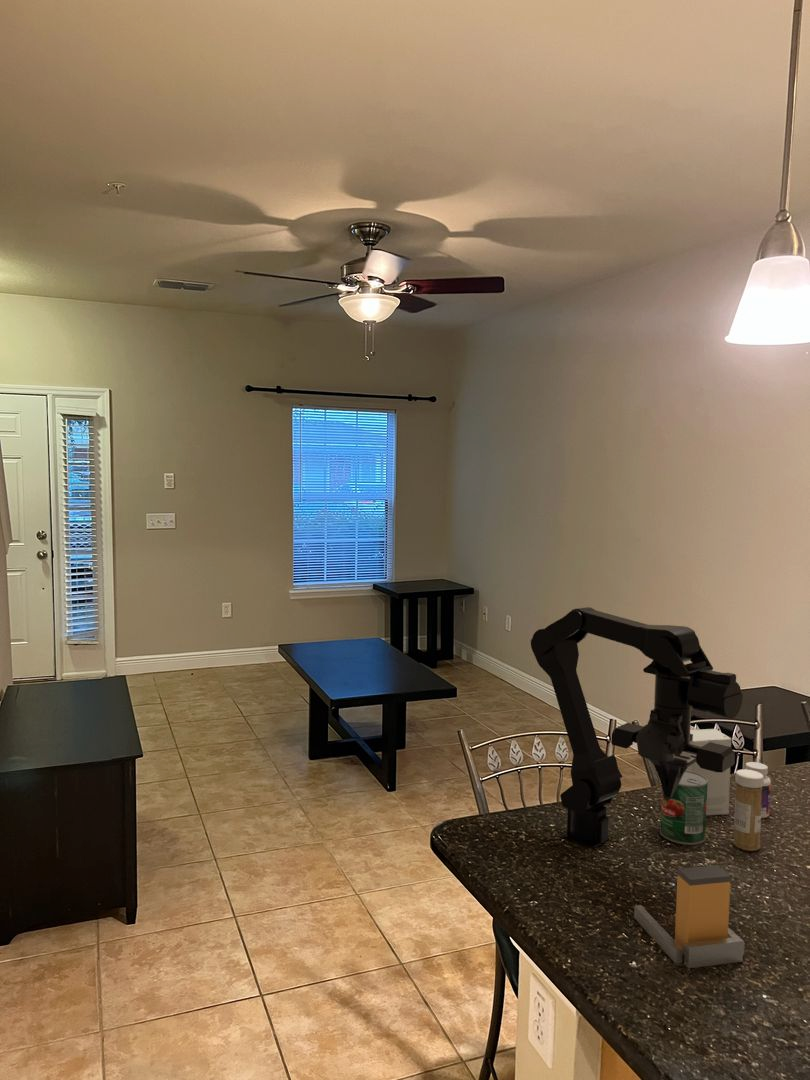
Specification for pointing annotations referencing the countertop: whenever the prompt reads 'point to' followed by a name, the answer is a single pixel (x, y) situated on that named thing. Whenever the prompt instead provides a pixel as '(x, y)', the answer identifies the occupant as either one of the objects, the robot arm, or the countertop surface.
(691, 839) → the canned tomato
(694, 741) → the skincare box
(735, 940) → the gray rectangular tray
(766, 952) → the countertop surface
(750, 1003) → the countertop surface
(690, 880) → the tan tall block
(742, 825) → the sprinkles bottle
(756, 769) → the pill bottle
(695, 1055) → the countertop surface
